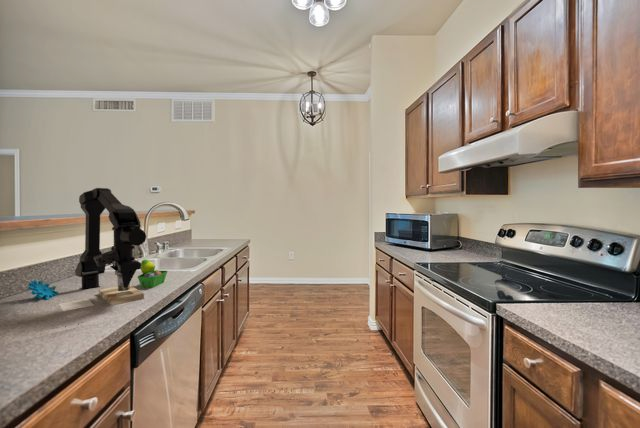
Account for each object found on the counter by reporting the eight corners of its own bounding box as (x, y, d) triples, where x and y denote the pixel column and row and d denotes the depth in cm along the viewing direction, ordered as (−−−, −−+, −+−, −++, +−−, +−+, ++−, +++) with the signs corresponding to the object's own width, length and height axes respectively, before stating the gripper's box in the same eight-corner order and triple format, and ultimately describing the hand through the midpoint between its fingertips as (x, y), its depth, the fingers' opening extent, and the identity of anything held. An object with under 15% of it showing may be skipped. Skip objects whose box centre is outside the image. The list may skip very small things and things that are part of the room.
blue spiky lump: (45, 300, 105) (24, 280, 104) (31, 313, 104) (9, 293, 103) (67, 295, 116) (48, 277, 115) (54, 307, 115) (35, 288, 114)
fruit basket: (154, 288, 126) (154, 261, 126) (133, 288, 126) (133, 261, 126) (168, 281, 138) (168, 257, 137) (149, 281, 138) (149, 256, 138)
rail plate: (98, 297, 114) (98, 288, 114) (129, 291, 121) (129, 283, 121) (111, 308, 102) (111, 299, 102) (143, 301, 109) (143, 293, 109)
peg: (113, 289, 109) (113, 270, 108) (129, 286, 112) (129, 268, 112) (117, 292, 105) (117, 272, 105) (134, 289, 109) (133, 270, 109)
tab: (58, 307, 103) (58, 303, 103) (87, 302, 108) (87, 298, 108) (63, 314, 96) (62, 311, 96) (94, 308, 102) (93, 305, 102)
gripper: (90, 242, 109) (90, 285, 109) (102, 248, 96) (103, 296, 96) (125, 240, 117) (126, 280, 117) (141, 245, 104) (141, 289, 105)
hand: (123, 286), depth 109 cm, fingers open, 4 cm apart
